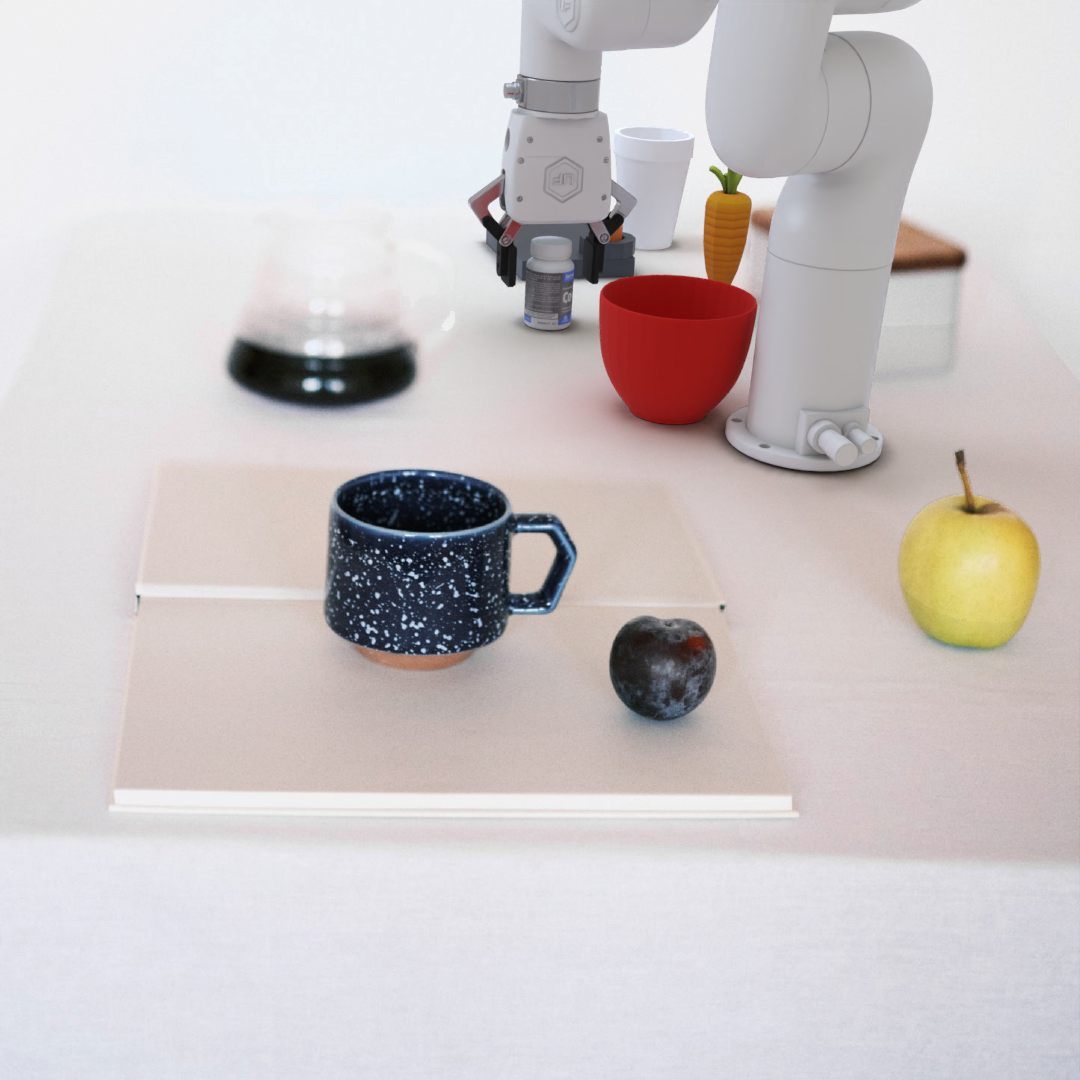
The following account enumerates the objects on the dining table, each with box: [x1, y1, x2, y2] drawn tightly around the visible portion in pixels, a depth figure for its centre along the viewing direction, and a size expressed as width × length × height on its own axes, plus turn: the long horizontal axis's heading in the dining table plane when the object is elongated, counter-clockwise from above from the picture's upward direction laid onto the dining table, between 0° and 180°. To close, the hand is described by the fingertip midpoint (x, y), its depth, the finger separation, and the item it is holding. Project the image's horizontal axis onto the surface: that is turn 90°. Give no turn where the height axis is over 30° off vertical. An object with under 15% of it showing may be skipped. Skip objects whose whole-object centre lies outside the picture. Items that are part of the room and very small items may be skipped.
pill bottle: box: [523, 236, 575, 331], centre depth 135 cm, size 5×5×8 cm
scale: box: [485, 223, 636, 282], centre depth 158 cm, size 16×14×4 cm
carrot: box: [702, 165, 753, 285], centre depth 144 cm, size 5×5×15 cm
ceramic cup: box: [598, 274, 758, 425], centre depth 117 cm, size 13×17×10 cm
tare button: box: [609, 225, 623, 241], centre depth 153 cm, size 3×3×2 cm
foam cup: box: [613, 125, 696, 251], centre depth 164 cm, size 10×9×13 cm
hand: (549, 280), depth 135 cm, fingers open, 7 cm apart
